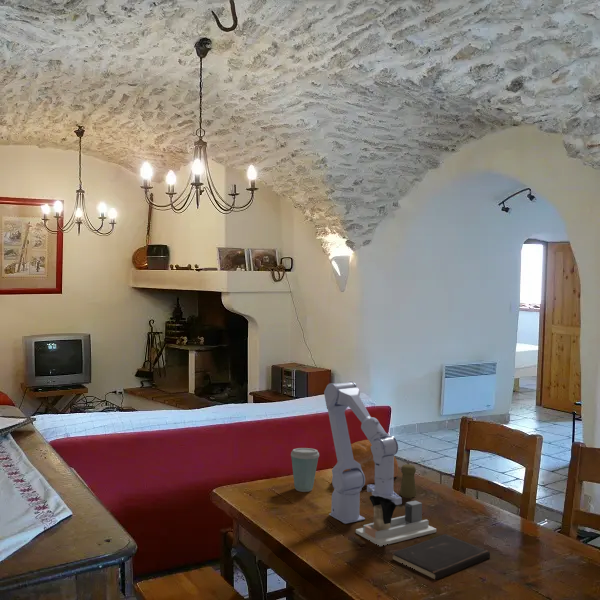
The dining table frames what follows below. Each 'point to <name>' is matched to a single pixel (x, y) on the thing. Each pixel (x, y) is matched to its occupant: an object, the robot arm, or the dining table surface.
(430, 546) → the hardcover book
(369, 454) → the bread
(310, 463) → the disposable coffee cup
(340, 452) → the robot arm
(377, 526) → the block
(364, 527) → the rail
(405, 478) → the cork
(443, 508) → the dining table surface
